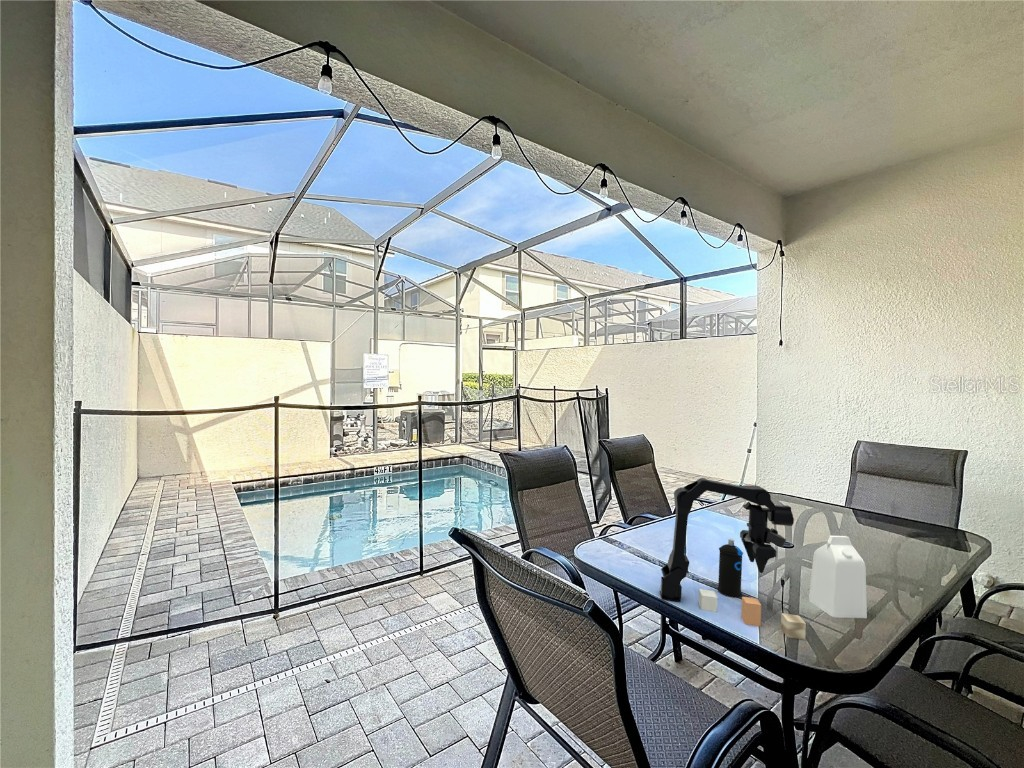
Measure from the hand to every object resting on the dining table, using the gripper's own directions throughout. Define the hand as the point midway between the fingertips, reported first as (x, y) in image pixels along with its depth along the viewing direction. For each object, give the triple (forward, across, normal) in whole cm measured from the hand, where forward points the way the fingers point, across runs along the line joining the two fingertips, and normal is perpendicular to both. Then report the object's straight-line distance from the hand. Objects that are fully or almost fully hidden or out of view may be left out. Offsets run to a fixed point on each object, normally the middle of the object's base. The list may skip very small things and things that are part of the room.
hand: (756, 567), depth 151 cm
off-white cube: (+15, -4, +16) cm, 22 cm away
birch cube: (+15, -14, -7) cm, 21 cm away
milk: (+15, +9, -30) cm, 34 cm away
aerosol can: (+15, +11, +5) cm, 19 cm away
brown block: (+15, -10, +4) cm, 18 cm away
